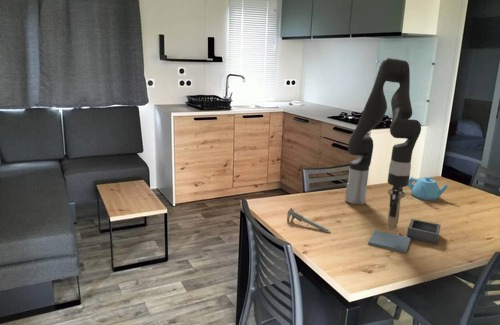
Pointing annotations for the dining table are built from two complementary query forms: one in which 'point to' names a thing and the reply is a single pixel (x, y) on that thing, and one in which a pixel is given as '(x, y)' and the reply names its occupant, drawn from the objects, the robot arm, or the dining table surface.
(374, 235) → the rubber mat
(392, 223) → the handle
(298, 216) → the caliper
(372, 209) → the dining table surface
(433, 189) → the teapot
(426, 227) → the socket block
